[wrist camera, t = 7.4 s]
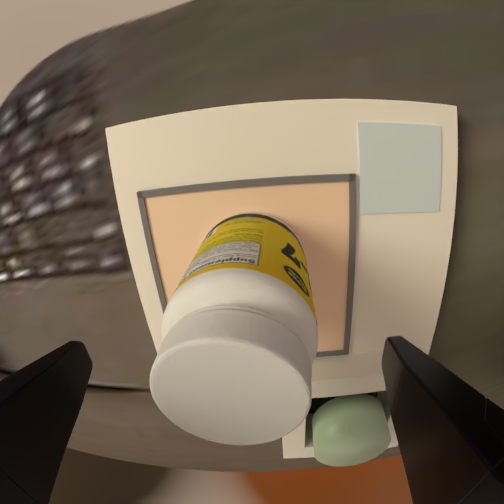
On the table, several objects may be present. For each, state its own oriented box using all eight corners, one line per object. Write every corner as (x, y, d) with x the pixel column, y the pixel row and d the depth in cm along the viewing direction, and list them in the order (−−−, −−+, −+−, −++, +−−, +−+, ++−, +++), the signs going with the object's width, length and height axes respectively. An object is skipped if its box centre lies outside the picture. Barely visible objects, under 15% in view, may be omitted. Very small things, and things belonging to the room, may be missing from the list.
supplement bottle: (312, 295, 15) (334, 445, 8) (218, 311, 16) (177, 455, 8) (293, 198, 14) (314, 308, 6) (188, 221, 14) (100, 336, 7)
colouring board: (444, 106, 12) (458, 106, 11) (421, 345, 18) (428, 359, 16) (116, 126, 14) (103, 128, 13) (168, 358, 19) (162, 373, 18)
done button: (388, 389, 16) (398, 420, 14) (376, 432, 18) (382, 460, 15) (312, 397, 16) (315, 431, 14) (310, 439, 18) (312, 469, 16)
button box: (410, 334, 17) (426, 366, 15) (388, 415, 21) (396, 446, 18) (279, 345, 18) (279, 382, 16) (283, 425, 21) (283, 458, 19)
